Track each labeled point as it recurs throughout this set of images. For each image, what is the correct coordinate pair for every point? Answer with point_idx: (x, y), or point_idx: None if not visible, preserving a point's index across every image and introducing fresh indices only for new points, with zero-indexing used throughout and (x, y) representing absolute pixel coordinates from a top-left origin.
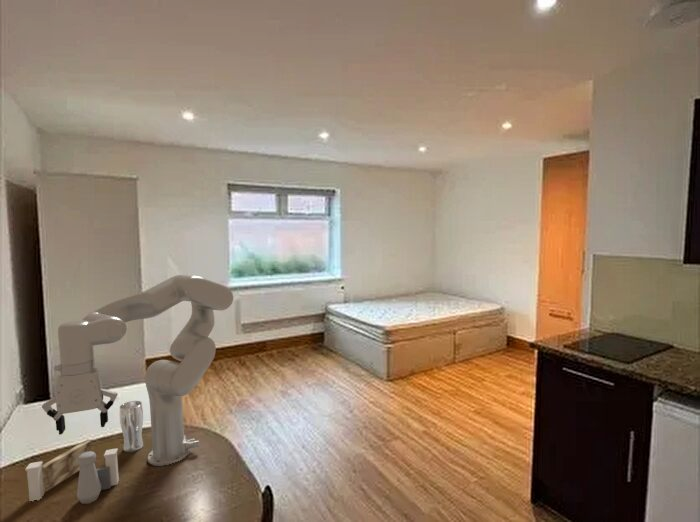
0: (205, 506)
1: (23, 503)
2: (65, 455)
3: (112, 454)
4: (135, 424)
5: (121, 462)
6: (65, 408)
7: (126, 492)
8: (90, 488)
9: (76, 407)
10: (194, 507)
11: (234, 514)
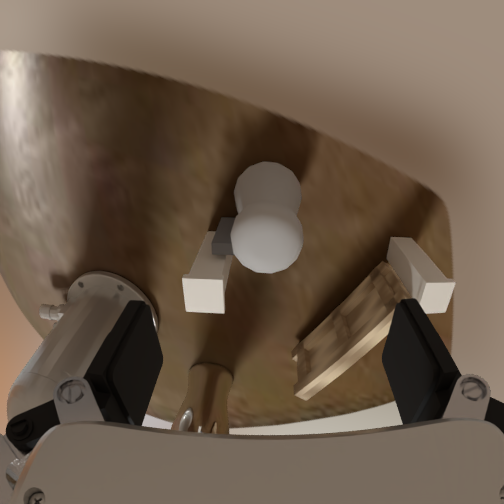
0: (5, 81)
1: (422, 237)
2: (356, 343)
3: (193, 277)
4: (183, 417)
5: (223, 330)
6: (447, 472)
7: (172, 183)
8: (255, 172)
9: (307, 487)
10: (20, 80)
11: None
